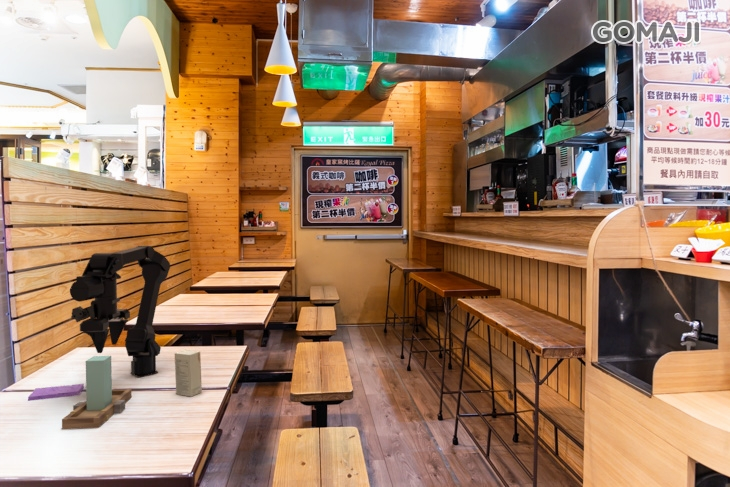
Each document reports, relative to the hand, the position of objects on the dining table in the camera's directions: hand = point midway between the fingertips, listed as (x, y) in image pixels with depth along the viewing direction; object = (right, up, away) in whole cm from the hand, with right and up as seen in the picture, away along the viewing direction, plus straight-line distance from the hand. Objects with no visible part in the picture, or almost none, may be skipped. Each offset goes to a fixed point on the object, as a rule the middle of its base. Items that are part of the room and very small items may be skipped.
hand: (107, 348), depth 136 cm
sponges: (-14, -14, -1) cm, 20 cm away
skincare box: (+24, -13, 0) cm, 27 cm away
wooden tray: (+6, -13, -14) cm, 20 cm away
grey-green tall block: (+6, -12, -14) cm, 20 cm away
